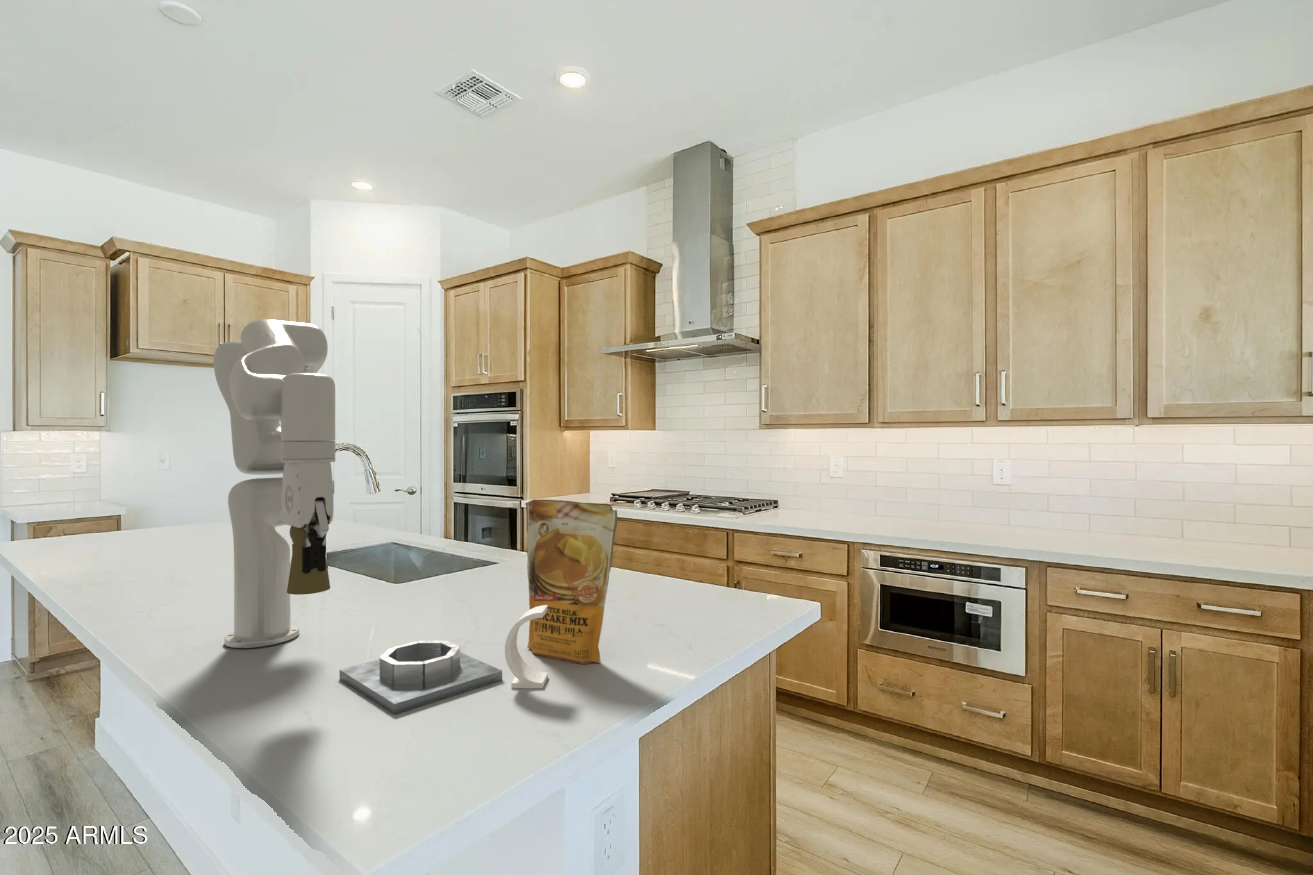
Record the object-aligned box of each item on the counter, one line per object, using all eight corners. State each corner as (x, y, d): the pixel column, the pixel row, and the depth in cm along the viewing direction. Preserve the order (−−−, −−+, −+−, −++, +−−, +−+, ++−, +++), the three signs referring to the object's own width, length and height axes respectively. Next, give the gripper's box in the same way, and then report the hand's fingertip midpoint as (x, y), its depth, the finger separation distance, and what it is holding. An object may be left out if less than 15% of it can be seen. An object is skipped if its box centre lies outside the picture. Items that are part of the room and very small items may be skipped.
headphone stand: (542, 688, 102) (542, 612, 102) (504, 688, 102) (504, 612, 102) (548, 677, 107) (547, 604, 107) (511, 677, 107) (511, 604, 107)
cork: (339, 587, 103) (339, 518, 103) (307, 595, 97) (306, 522, 97) (310, 584, 105) (310, 516, 105) (277, 592, 99) (277, 521, 99)
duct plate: (339, 678, 106) (339, 651, 106) (440, 651, 119) (440, 627, 119) (394, 714, 92) (394, 683, 92) (502, 679, 106) (502, 652, 106)
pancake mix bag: (537, 641, 126) (537, 497, 125) (620, 657, 116) (620, 502, 116) (513, 651, 120) (513, 500, 120) (599, 669, 110) (599, 505, 110)
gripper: (265, 452, 104) (265, 566, 104) (300, 454, 92) (300, 582, 92) (315, 451, 109) (316, 559, 109) (354, 453, 98) (354, 574, 98)
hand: (308, 568), depth 101 cm, fingers closed on cork, 3 cm apart
